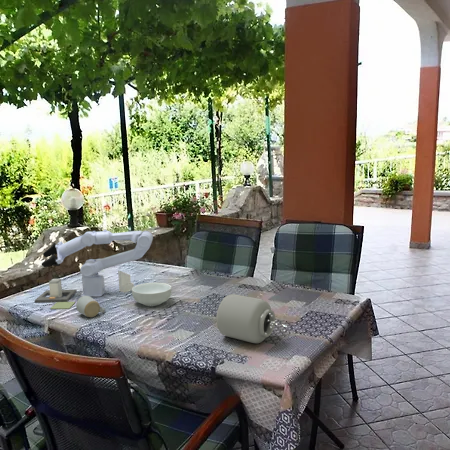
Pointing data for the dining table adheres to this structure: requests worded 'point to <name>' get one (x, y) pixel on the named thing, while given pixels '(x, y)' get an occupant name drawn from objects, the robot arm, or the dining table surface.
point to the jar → (245, 318)
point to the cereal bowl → (151, 293)
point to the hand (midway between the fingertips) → (43, 260)
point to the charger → (55, 288)
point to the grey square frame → (55, 299)
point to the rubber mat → (62, 305)
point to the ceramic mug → (88, 306)
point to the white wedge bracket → (124, 282)
